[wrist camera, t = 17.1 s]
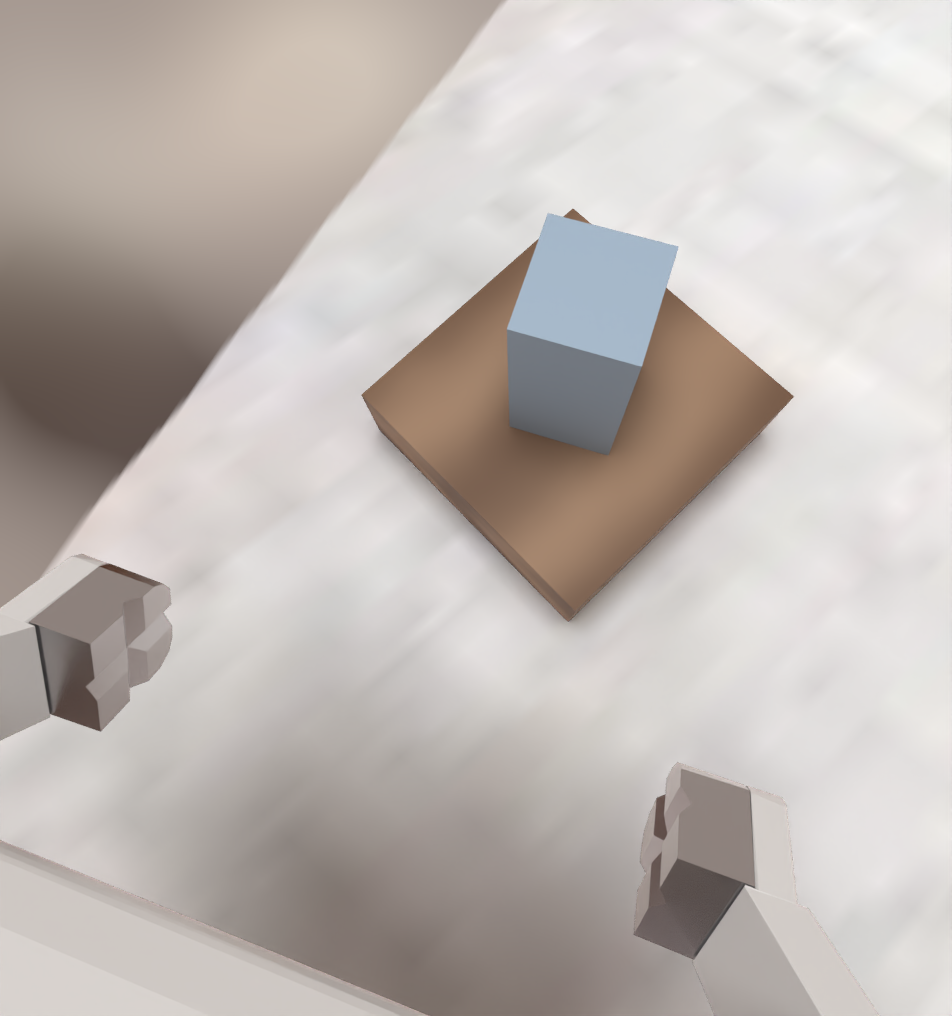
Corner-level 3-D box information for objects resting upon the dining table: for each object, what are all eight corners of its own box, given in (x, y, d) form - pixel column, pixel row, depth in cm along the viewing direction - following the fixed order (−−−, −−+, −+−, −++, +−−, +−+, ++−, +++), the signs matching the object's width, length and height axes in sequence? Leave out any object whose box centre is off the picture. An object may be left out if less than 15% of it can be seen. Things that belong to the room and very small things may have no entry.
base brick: (761, 431, 33) (793, 396, 29) (568, 621, 31) (575, 610, 27) (566, 261, 35) (572, 208, 32) (379, 429, 34) (361, 394, 30)
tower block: (608, 455, 29) (641, 366, 21) (509, 426, 29) (506, 328, 22) (636, 364, 30) (678, 246, 22) (540, 337, 30) (547, 213, 22)
